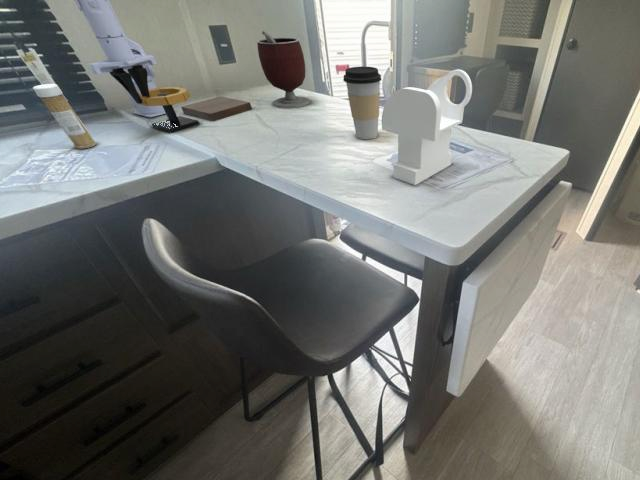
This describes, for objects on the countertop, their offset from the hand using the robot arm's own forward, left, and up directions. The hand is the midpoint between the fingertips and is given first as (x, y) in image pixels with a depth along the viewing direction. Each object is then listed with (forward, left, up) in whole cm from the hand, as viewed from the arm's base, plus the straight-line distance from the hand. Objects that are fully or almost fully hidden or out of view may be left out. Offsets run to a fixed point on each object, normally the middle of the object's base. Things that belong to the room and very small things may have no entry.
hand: (143, 101), depth 85 cm
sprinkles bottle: (-5, -17, -8) cm, 19 cm away
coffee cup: (+54, +27, -8) cm, 61 cm away
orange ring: (0, +5, -1) cm, 5 cm away
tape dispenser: (+79, +15, -8) cm, 81 cm away
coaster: (-2, +21, -7) cm, 23 cm away
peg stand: (0, +5, -7) cm, 9 cm away
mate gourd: (+12, +40, -8) cm, 43 cm away
